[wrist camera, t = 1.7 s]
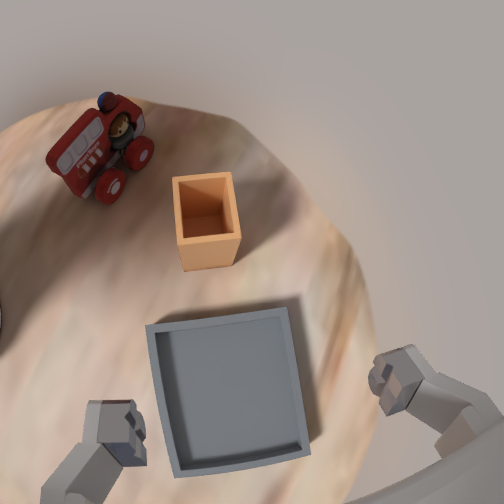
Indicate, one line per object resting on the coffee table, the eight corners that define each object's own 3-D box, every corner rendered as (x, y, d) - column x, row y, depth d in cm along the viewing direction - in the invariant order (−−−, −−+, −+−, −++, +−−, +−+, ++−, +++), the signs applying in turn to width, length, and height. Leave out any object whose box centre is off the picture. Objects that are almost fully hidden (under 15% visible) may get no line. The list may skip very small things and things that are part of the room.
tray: (303, 447, 29) (310, 454, 26) (176, 469, 26) (174, 478, 24) (280, 309, 33) (286, 306, 30) (149, 326, 30) (145, 325, 28)
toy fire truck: (165, 143, 37) (158, 83, 27) (101, 222, 33) (69, 176, 23) (125, 122, 37) (110, 65, 27) (63, 194, 33) (26, 147, 23)
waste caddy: (231, 266, 33) (241, 238, 25) (184, 271, 32) (177, 245, 24) (224, 213, 35) (231, 171, 26) (178, 218, 34) (171, 177, 25)
